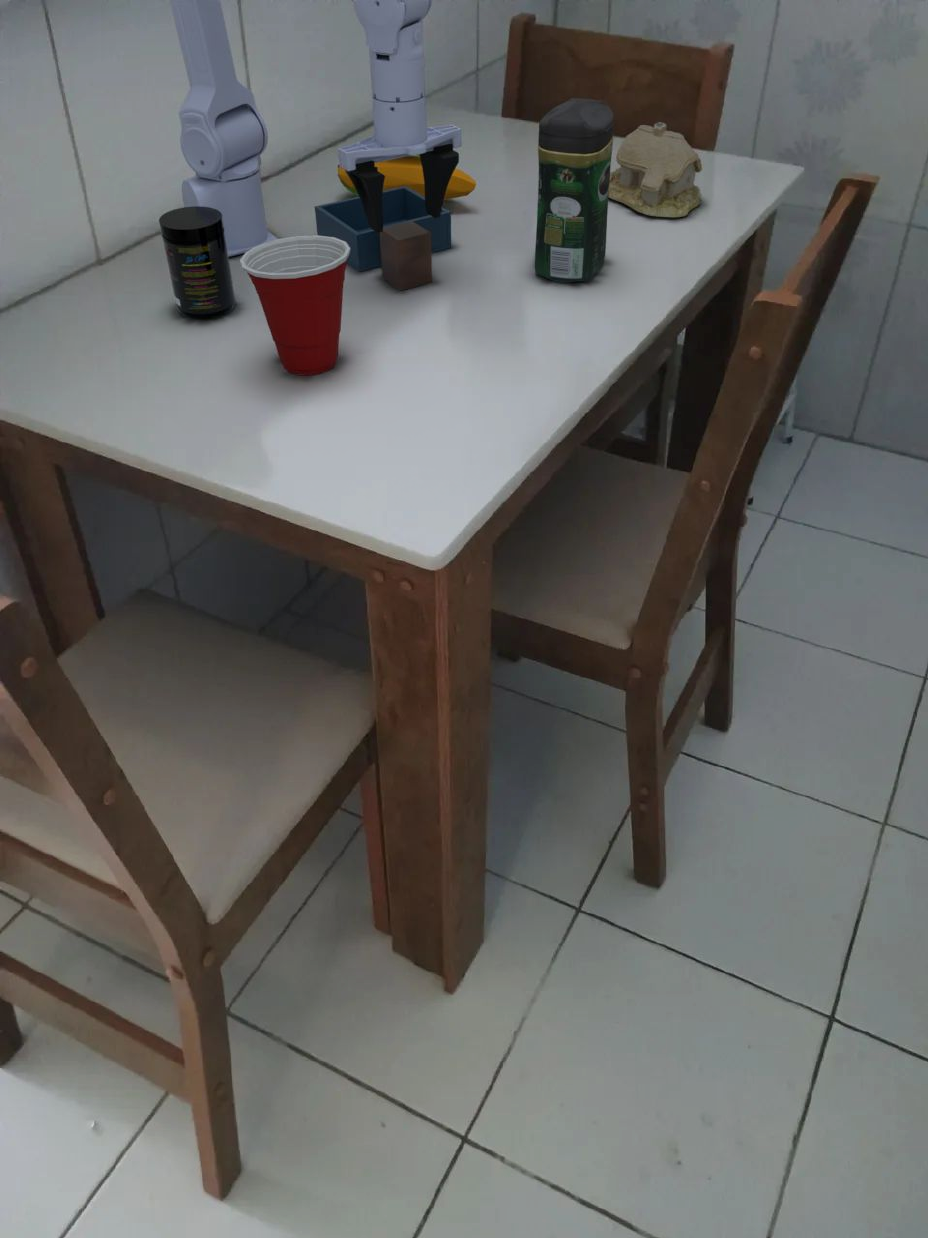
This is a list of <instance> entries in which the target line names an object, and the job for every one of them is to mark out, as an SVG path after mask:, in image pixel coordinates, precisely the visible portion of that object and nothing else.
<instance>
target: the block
mask: <svg viewBox="0 0 928 1238" xmlns="http://www.w3.org/2000/svg"><path fill="white" fill-rule="evenodd" d="M380 246H381V262H382V266H381V275H382V277H381V278H382V279H383V280H384V281H386V282H387V283H389V284H390V285H391V286H393V287H394V288H396V289H397V290H399V291H401V292H402V291H405V290H406V291H407V290H409V289H412V288H417V287H419V286H424V285H428V284H432V283H433V265H432V264H433V262H432V253H431V233H430V232H429V231H427V230H426V229H424V228H422V227H421V226H419V225H417V224H416V223H414V222H413V221H409V222H405V223H401V224H397V225H393V226H389V227H385V228H383V231H382V232H380Z"/></svg>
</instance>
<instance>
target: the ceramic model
mask: <svg viewBox="0 0 928 1238" xmlns="http://www.w3.org/2000/svg"><path fill="white" fill-rule="evenodd" d="M615 160H616V163H617V164H618V165H620V166H619V167H618V168H615V170H614V171H610V181H609V197H608V199H609V198H610V199H611V200H613V201H617V202H619V203H621V204H624V205H626V206H628V207H630V208H631V209H633V210H634V211H636V212H637V213H640V214H644V215H646V216H650V217H661V218H680V217H686V216H687V215H688V214H689V212H690V211H692V210H693V209H694V208H696V207H698V206H699V205H700V203H701V201H702V193H701V189H700V187H699V186H698V185H695V181H696V173H701V172H702V170H703V164H702V160H701V158H700V157H699V153H697V152H696V151H695V149H694V148H692V146H691V144H689V143H688V141H687V140H686V139H685V137H684V135H683V134H681V133H679V132H675V131H672V130H667V124H666V123H665V122H660V121H658V122H656V123H654V125H653V126H651V125H648V124H647V125H646V124H641V125H639V126H638V127H637V128H636V129H634V130H633V131H632V132H631V133H629V134H627V135H626V136H625V138H624V140H623V141H622V142H621V144H620V146H619V149H618V150H617V153H616V156H615Z"/></svg>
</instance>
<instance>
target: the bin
mask: <svg viewBox="0 0 928 1238" xmlns="http://www.w3.org/2000/svg"><path fill="white" fill-rule="evenodd" d="M382 211H383V228H385V227H389V226H393V225H397V224H401V223H405V222H409V221H413V222H414V223H416V224H417V225H419V226H421V227H422V228H424V229H426V230H427V231H429V232H430V233H431V254H433V253H436V252H441V251H444V250H448V249H451V248H452V212H451V211H449V210H448V209H446V208H445V207H443V206H442V210H441V215H440V217H439V218H434V217H432V216H431V215H429V214H427V212H426V206H425V197H424V196H422V195H420V194H419V193H417V192H415V191H414V190H412V189H410V188H408V187H407V186H403V187H398V188H394V189H389V190H385V191H383V194H382ZM314 214H315V215H314V216H315V224H316V231H317V232H316V233H317V234H316V235H318V236H327V237H335V238H337V239H340V240H342V241H345V242H346V243H347V244H348V246H349V247H350V254H349V256H348V258H347V262H346V264H348V265H350V267H352V268H354V270H356V271H358V272H363V271H367V270H371V269H374V268H379V267H382V262H381V246H380V232H375V231H374V230H372V229H371V228H369V224H368V220H367V217H366V213H365V210H364V207H363V204H362V202H361V199H360V197H359V196H354V197H350V198H346V199H342V200H337V201H333V202H329V203H328V202H327V203H324V204H320V205H315V206H314Z"/></svg>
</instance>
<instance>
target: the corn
mask: <svg viewBox="0 0 928 1238" xmlns="http://www.w3.org/2000/svg"><path fill="white" fill-rule="evenodd" d="M374 164H375V167H377V171H378V172H380V173H382V174H383V175H384V176H385V179H384V184H383V191H385V190H389V189H394V188H398V187H403V186H407V187H408V188H410V189H412V190H414V191H415V192H417V193H419V194H420V195H422V196H424V197H425V186H424V176H423V170H422V164H421V159H420V155H419V154H418V155H410V156H405V157H401V158H396V159H391V160H387V161H382V162H378V163H374ZM337 177H338V179H339V181H340V183H341V184H342V186H343V188H345V189H346V190H347V191H348V192H351V194H354V195H356V197H359V195H358V193H357V191H356V189H355V187H354V185H353V183H352V181H351V179H350V178H349V176H348V175H347V173H346V171H345V169H343V168H342V167H340V165H339V164H338V165H337ZM476 187H477V182H476V181H475V179H473V177H471V176H470V175H469V174H467V173H466V172H464V171H463V170H461V169H459V168H457V167H456V168H455V170H454V172H453V174H452V176H451V178H450V181H449V183H448V186H447V189H446V193H445V196H444V201H447V200H452V199H457V198H462V197H467V196H469V195H470V194H471V193H472V192H473V191H475V189H476Z"/></svg>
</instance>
